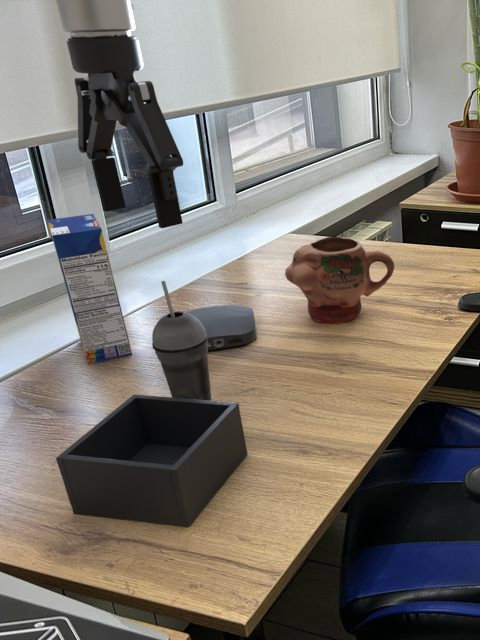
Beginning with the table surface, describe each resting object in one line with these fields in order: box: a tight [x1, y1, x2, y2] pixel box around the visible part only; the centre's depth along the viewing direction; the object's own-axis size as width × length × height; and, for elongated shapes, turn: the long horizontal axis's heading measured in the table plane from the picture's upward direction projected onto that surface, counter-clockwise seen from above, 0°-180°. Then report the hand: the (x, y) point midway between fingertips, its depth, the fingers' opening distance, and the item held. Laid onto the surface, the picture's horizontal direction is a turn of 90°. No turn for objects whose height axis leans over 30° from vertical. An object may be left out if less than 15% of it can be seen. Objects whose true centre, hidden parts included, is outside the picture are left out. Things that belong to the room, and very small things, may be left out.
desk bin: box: [55, 394, 248, 528], centre depth 85 cm, size 15×15×8 cm
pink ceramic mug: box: [284, 235, 395, 324], centre depth 132 cm, size 20×12×14 cm, turn 103°
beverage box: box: [46, 213, 133, 365], centre depth 118 cm, size 7×11×22 cm, turn 32°
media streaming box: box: [184, 304, 257, 351], centre depth 126 cm, size 15×15×3 cm
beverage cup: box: [151, 280, 213, 401], centre depth 98 cm, size 7×7×20 cm
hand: (141, 217), depth 90 cm, fingers open, 13 cm apart
